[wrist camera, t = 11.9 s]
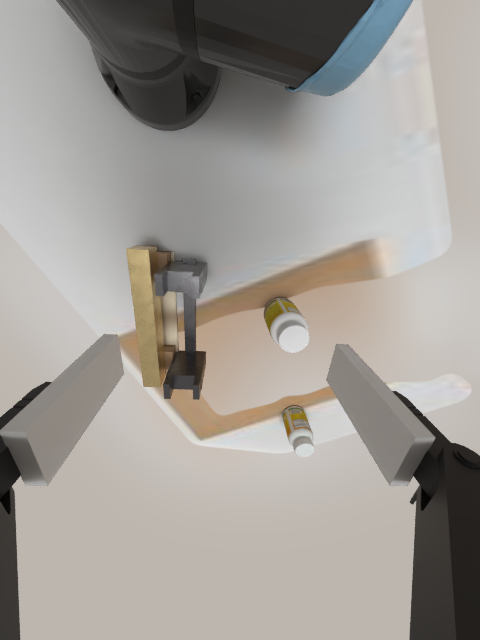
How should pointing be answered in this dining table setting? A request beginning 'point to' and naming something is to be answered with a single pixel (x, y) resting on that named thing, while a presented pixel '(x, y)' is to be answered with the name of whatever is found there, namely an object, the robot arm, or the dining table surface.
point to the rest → (168, 313)
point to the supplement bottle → (298, 431)
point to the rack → (190, 362)
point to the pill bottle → (286, 325)
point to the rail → (147, 313)
